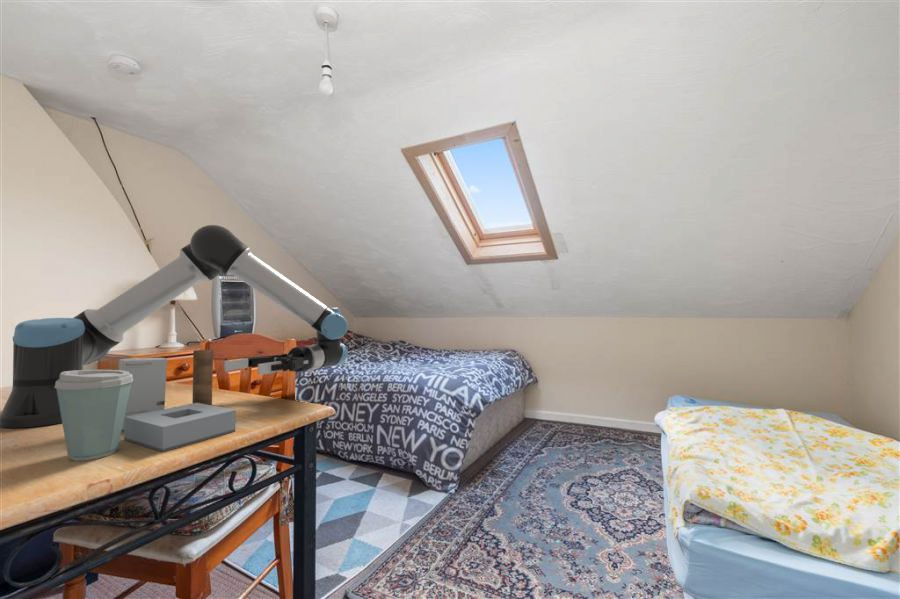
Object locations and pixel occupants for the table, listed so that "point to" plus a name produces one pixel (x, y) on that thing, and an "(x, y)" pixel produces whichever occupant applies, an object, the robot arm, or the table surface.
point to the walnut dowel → (202, 376)
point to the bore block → (179, 426)
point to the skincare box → (145, 385)
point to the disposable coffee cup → (92, 411)
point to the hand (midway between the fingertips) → (241, 367)
